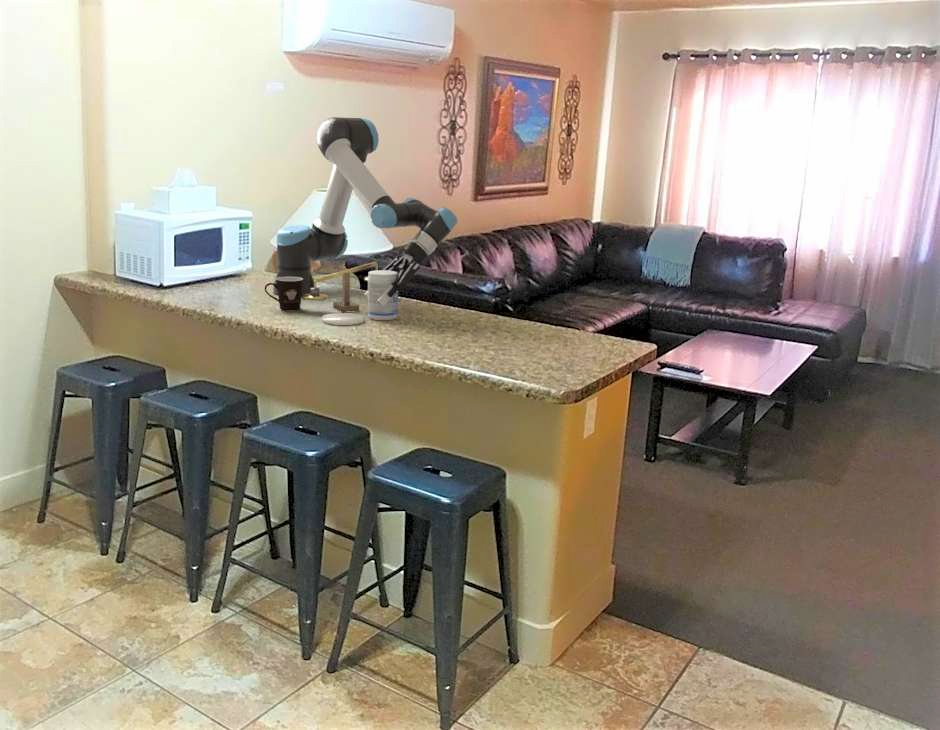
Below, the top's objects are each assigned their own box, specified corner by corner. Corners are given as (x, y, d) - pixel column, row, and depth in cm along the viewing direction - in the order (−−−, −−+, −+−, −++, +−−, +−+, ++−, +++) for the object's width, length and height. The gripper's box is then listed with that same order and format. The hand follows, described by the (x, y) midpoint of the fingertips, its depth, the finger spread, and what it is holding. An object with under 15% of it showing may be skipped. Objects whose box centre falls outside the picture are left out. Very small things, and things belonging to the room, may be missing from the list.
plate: (315, 318, 280) (315, 314, 280) (354, 315, 287) (354, 311, 286) (330, 327, 269) (330, 323, 269) (370, 323, 276) (370, 320, 275)
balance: (299, 310, 291) (298, 263, 287) (382, 304, 306) (382, 259, 302) (307, 315, 285) (306, 267, 281) (392, 308, 299) (392, 263, 295)
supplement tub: (399, 321, 281) (400, 274, 277) (369, 321, 279) (369, 274, 275) (395, 314, 290) (395, 269, 286) (366, 314, 288) (366, 269, 284)
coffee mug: (306, 307, 297) (306, 277, 294) (299, 312, 288) (298, 281, 286) (272, 305, 298) (271, 275, 295) (264, 310, 289) (263, 279, 287)
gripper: (443, 261, 278) (396, 314, 274) (411, 251, 296) (367, 301, 293) (428, 244, 274) (380, 298, 270) (397, 236, 292) (352, 286, 289)
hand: (373, 300), depth 282 cm, fingers closed on supplement tub, 10 cm apart
